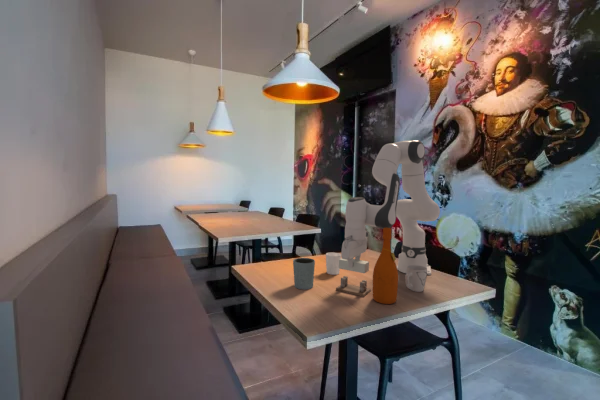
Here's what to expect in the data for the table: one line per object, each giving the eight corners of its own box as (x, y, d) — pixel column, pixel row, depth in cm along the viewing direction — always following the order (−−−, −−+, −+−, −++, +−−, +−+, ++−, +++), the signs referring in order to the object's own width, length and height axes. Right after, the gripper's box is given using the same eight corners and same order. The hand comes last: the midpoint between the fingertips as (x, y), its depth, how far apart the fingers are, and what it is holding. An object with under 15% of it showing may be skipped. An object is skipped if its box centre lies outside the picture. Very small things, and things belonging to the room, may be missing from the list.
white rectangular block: (368, 270, 132) (369, 261, 132) (364, 273, 128) (364, 264, 127) (343, 265, 138) (343, 257, 138) (338, 268, 134) (339, 259, 134)
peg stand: (343, 285, 140) (343, 274, 140) (370, 291, 133) (371, 280, 133) (336, 290, 134) (336, 279, 133) (364, 296, 127) (364, 285, 126)
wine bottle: (382, 306, 117) (385, 230, 115) (367, 297, 126) (369, 226, 124) (402, 303, 121) (405, 228, 119) (386, 294, 130) (388, 225, 128)
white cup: (339, 275, 154) (340, 256, 154) (324, 274, 156) (325, 255, 155) (341, 271, 162) (341, 252, 161) (326, 270, 164) (326, 251, 163)
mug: (413, 295, 129) (414, 272, 129) (397, 289, 137) (398, 267, 136) (430, 290, 136) (431, 268, 135) (414, 284, 143) (415, 264, 142)
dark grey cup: (304, 291, 131) (304, 264, 130) (287, 286, 138) (288, 260, 137) (319, 286, 139) (319, 260, 138) (302, 280, 145) (303, 256, 145)
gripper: (352, 238, 122) (351, 272, 122) (369, 232, 139) (368, 261, 140) (338, 236, 125) (337, 269, 126) (357, 230, 142) (355, 259, 143)
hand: (353, 265), depth 133 cm, fingers closed on white rectangular block, 5 cm apart
